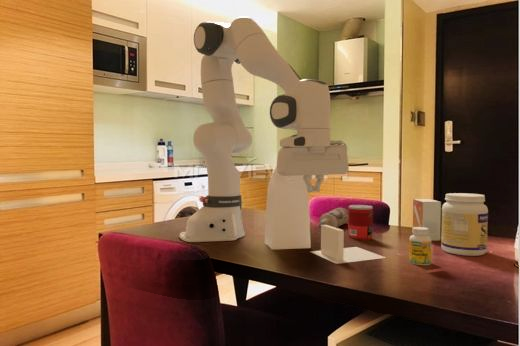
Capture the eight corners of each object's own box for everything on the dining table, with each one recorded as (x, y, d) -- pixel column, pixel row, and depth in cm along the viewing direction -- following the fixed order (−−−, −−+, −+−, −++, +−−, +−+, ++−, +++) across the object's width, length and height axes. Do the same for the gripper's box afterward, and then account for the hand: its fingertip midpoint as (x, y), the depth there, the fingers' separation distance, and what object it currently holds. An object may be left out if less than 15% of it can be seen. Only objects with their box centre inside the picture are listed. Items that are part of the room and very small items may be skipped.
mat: (336, 265, 108) (336, 263, 108) (309, 253, 121) (309, 251, 121) (386, 259, 115) (386, 257, 115) (356, 248, 127) (356, 246, 127)
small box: (412, 235, 147) (412, 198, 146) (429, 235, 147) (430, 198, 146) (421, 240, 139) (422, 201, 138) (440, 240, 139) (441, 201, 138)
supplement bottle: (430, 262, 111) (431, 227, 111) (431, 268, 106) (431, 230, 106) (409, 261, 113) (409, 225, 113) (408, 266, 108) (409, 229, 108)
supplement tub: (486, 259, 116) (488, 197, 115) (438, 253, 122) (439, 195, 121) (487, 249, 126) (488, 193, 125) (443, 245, 132) (444, 191, 131)
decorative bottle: (332, 222, 174) (332, 206, 174) (350, 224, 171) (350, 208, 170) (309, 233, 152) (309, 215, 151) (329, 235, 148) (329, 216, 148)
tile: (338, 260, 112) (338, 230, 111) (320, 252, 120) (321, 225, 120) (343, 259, 112) (344, 230, 112) (326, 252, 121) (326, 224, 120)
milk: (300, 241, 138) (301, 162, 136) (310, 249, 126) (311, 163, 125) (264, 243, 135) (264, 162, 134) (271, 251, 124) (271, 163, 123)
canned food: (373, 241, 138) (373, 208, 137) (348, 240, 139) (348, 207, 139) (371, 236, 145) (372, 205, 145) (348, 235, 147) (348, 204, 146)
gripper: (340, 140, 119) (340, 189, 120) (274, 140, 111) (274, 192, 112) (353, 140, 113) (353, 191, 114) (284, 139, 105) (284, 194, 106)
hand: (313, 192), depth 113 cm, fingers closed
